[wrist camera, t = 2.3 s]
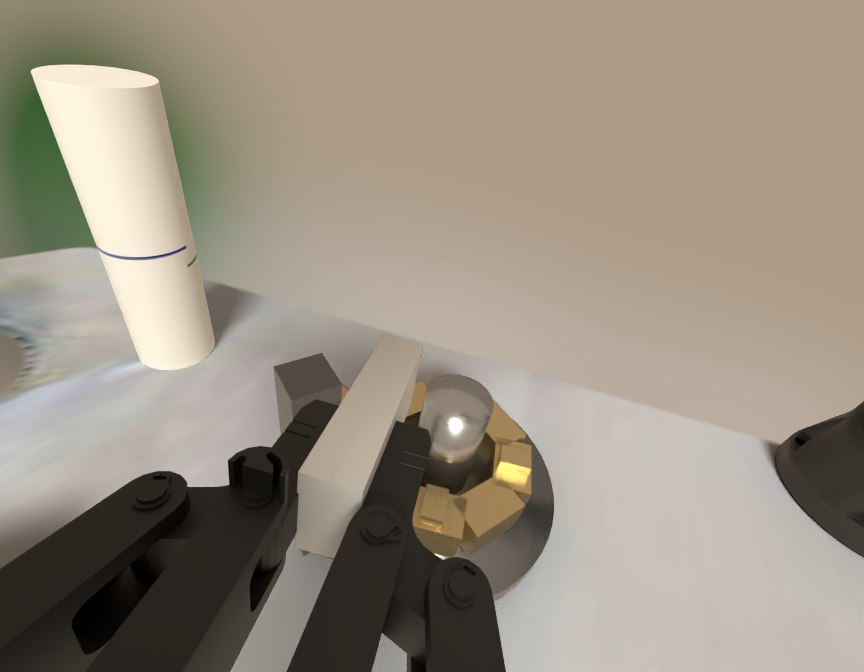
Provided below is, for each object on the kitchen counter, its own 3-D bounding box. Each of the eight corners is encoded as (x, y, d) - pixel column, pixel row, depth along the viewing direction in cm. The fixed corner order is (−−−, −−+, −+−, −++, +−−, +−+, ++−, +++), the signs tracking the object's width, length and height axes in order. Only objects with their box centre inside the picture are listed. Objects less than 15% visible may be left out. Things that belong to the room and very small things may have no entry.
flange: (525, 410, 45) (561, 332, 38) (571, 624, 29) (644, 556, 23) (341, 387, 43) (344, 301, 37) (286, 602, 28) (273, 521, 21)
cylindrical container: (121, 354, 42) (2, 66, 27) (178, 318, 48) (108, 63, 32) (177, 379, 41) (86, 92, 25) (230, 340, 46) (182, 83, 31)
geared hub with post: (455, 387, 43) (493, 252, 33) (554, 498, 34) (643, 361, 25) (265, 462, 33) (240, 301, 23) (339, 644, 24) (348, 510, 15)
